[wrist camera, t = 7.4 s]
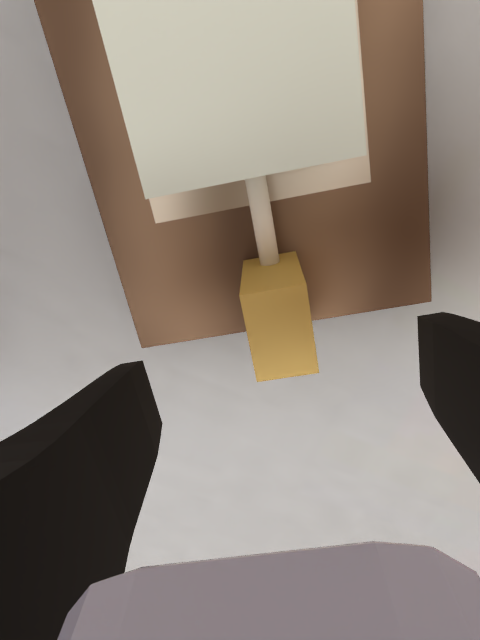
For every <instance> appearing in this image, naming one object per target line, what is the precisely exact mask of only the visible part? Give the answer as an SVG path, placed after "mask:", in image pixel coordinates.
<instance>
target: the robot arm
mask: <svg viewBox="0 0 480 640" xmlns="http://www.w3.org/2000/svg"><path fill="white" fill-rule="evenodd" d="M417 317H418V341H419V364H420V386H421V388H422V391H423V393H424V395H425V397H426V399H427V401H428V404H429V406H430V408H431V410H432V412H433V414H434V416H435V418H436V419H437V421H438V422H439V424H440V425H441V427H442V428H443V430H444V431H445V433H446V434H447V436H448V437H449V439H450V440H451V442H452V443H453V445H454V446H455V448H456V449H457V451H458V452H459V454H460V455H461V456H462V458H463V459H464V461H465V462H466V464H467V465H468V467H469V468H470V470H471V471H472V473H473V474H474V476H475V477H476V478H477V480H478V481H479V483H480V322H478V321H474V320H471V319H468V318H465V317H461V316H458V315H454V314H450V313H444V312H441V313H435V314H429V315H422V316H417ZM161 429H162V421H161V418H160V415H159V411H158V408H157V405H156V402H155V399H154V395H153V392H152V389H151V386H150V383H149V380H148V376H147V373H146V370H145V367H144V364H143V361H137V362H130V363H124V364H120V365H118V366H116V367H114V368H112V369H111V370H109V371H108V372H106V373H105V374H103V375H102V376H100V377H99V378H97V379H96V380H95V381H93V382H92V383H90V384H89V385H88V386H86V387H85V388H83V389H82V390H81V391H79V392H78V393H76V394H75V395H74V396H72V397H71V398H69V399H68V400H66V401H65V402H64V403H62V404H61V405H59V406H58V407H56V408H55V409H53V410H52V411H50V412H49V413H47V414H46V415H44V416H43V417H41V418H40V419H38V420H37V421H35V422H33V423H32V424H30V425H29V426H27V427H25V428H24V429H22V430H20V431H19V432H17V433H15V434H13V435H12V436H10V437H8V438H6V439H4V440H3V441H1V442H0V640H480V578H479V576H478V574H477V572H476V571H474V570H472V569H470V568H469V567H467V566H465V565H464V564H462V563H460V562H458V561H457V560H455V559H453V558H451V557H450V556H448V555H446V554H444V553H443V552H441V551H439V550H437V549H436V548H434V547H429V546H425V545H414V544H401V543H388V542H375V541H372V542H363V543H354V544H345V545H336V546H327V547H318V548H309V549H299V550H290V551H281V552H272V553H263V554H254V555H245V556H236V557H227V558H218V559H209V560H200V561H191V562H182V563H173V564H164V565H155V566H146V567H141V568H138V569H135V570H132V571H129V572H126V573H124V572H125V567H126V562H127V557H128V552H129V547H130V544H131V540H132V536H133V532H134V529H135V526H136V523H137V519H138V516H139V513H140V510H141V507H142V504H143V501H144V497H145V494H146V491H147V488H148V485H149V482H150V478H151V475H152V472H153V469H154V465H155V462H156V459H157V455H158V449H159V443H160V437H161Z"/></svg>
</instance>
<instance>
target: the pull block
mask: <svg viewBox="0 0 480 640" xmlns="http://www.w3.org/2000/svg"><path fill="white" fill-rule="evenodd" d="M92 2H93V6H94V9H95V13H96V17H97V20H98V24H99V28H100V32H101V35H102V39H103V43H104V47H105V50H106V54H107V58H108V62H109V65H110V69H111V73H112V76H113V80H114V84H115V88H116V91H117V95H118V99H119V103H120V106H121V110H122V114H123V117H124V121H125V125H126V129H127V132H128V136H129V140H130V144H131V147H132V151H133V155H134V159H135V162H136V166H137V170H138V173H139V177H140V181H141V185H142V188H143V192H144V196H145V199H150V198H155V197H160V196H165V195H170V194H175V193H180V192H185V191H190V190H195V189H200V188H205V187H210V186H215V185H220V184H225V183H230V182H235V181H240V180H245V183H246V188H247V194H248V199H249V205H250V210H251V216H252V221H253V227H254V232H255V238H256V243H257V249H258V254H259V258H254V259H249V260H243V268H242V276H241V285H240V293H239V297H240V302H241V307H242V311H243V316H244V321H245V326H246V331H247V336H248V341H249V346H250V350H251V355H252V360H253V365H254V370H255V375H256V380H257V382H260V381H267V380H274V379H281V378H287V377H294V376H301V375H308V374H314V373H319V369H318V362H317V355H316V348H315V341H314V334H313V327H312V320H311V312H310V305H309V298H308V291H307V284H306V281H305V278H304V275H303V272H302V269H301V266H300V263H299V260H298V257H297V254H296V251H293V252H288V253H282V254H278V248H277V242H276V236H275V229H274V223H273V217H272V211H271V205H270V199H269V193H268V187H267V180H266V175H270V174H275V173H280V172H285V171H290V170H295V169H300V168H305V167H310V166H315V165H320V164H325V163H330V162H335V161H340V160H345V159H350V158H355V157H360V156H365V155H367V151H366V138H365V125H364V112H363V99H362V87H361V74H360V61H359V48H358V35H357V23H356V10H355V0H92Z"/></svg>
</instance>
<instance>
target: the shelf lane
mask: <svg viewBox="0 0 480 640" xmlns="http://www.w3.org/2000/svg"><path fill="white" fill-rule="evenodd" d="M34 2H35V5H36V9H37V12H38V15H39V18H40V21H41V25H42V28H43V31H44V34H45V38H46V41H47V44H48V47H49V50H50V54H51V57H52V60H53V63H54V67H55V70H56V73H57V76H58V79H59V83H60V86H61V89H62V92H63V96H64V99H65V102H66V105H67V108H68V112H69V115H70V118H71V121H72V125H73V128H74V131H75V134H76V138H77V141H78V144H79V147H80V150H81V154H82V157H83V160H84V163H85V167H86V170H87V173H88V176H89V179H90V183H91V186H92V189H93V192H94V196H95V199H96V202H97V205H98V208H99V212H100V215H101V218H102V221H103V225H104V228H105V231H106V234H107V237H108V241H109V244H110V247H111V250H112V254H113V257H114V260H115V263H116V267H117V270H118V273H119V276H120V279H121V283H122V286H123V289H124V292H125V296H126V299H127V302H128V305H129V308H130V312H131V315H132V318H133V321H134V325H135V328H136V331H137V334H138V337H139V341H140V344H141V347H142V348H146V347H152V346H158V345H164V344H171V343H177V342H183V341H189V340H195V339H202V338H208V337H214V336H220V335H226V334H233V333H239V332H245V331H246V326H245V321H244V316H243V311H242V307H241V302H240V297H239V293H240V285H241V276H242V268H243V260H249V259H254V258H259V254H258V249H257V243H256V238H255V232H254V227H253V221H252V216H251V210H250V205H249V199H248V194H247V188H246V183H245V180H240V181H235V182H230V183H225V184H220V185H215V186H210V187H205V188H200V189H195V190H190V191H185V192H180V193H175V194H170V195H165V196H160V197H155V198H150V199H145V196H144V192H143V188H142V185H141V181H140V177H139V173H138V170H137V166H136V162H135V159H134V155H133V151H132V147H131V144H130V140H129V136H128V132H127V129H126V125H125V121H124V117H123V114H122V110H121V106H120V103H119V99H118V95H117V91H116V88H115V84H114V80H113V76H112V73H111V69H110V65H109V62H108V58H107V54H106V50H105V47H104V43H103V39H102V35H101V32H100V28H99V24H98V20H97V17H96V13H95V9H94V6H93V2H92V0H34ZM355 10H356V23H357V35H358V48H359V61H360V74H361V87H362V99H363V112H364V125H365V138H366V151H367V155H365V156H360V157H355V158H350V159H345V160H340V161H335V162H330V163H325V164H320V165H315V166H310V167H305V168H300V169H295V170H290V171H285V172H280V173H275V174H270V175H266V180H267V187H268V193H269V199H270V205H271V211H272V217H273V223H274V229H275V236H276V242H277V248H278V254H282V253H288V252H293V251H296V254H297V257H298V260H299V263H300V266H301V269H302V272H303V275H304V278H305V281H306V284H307V291H308V298H309V305H310V312H311V320H312V321H313V320H319V319H326V318H332V317H338V316H344V315H350V314H357V313H363V312H369V311H375V310H381V309H388V308H394V307H400V306H406V305H412V304H419V303H425V302H431V269H430V234H429V199H428V165H427V130H426V96H425V61H424V27H423V0H355Z"/></svg>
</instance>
